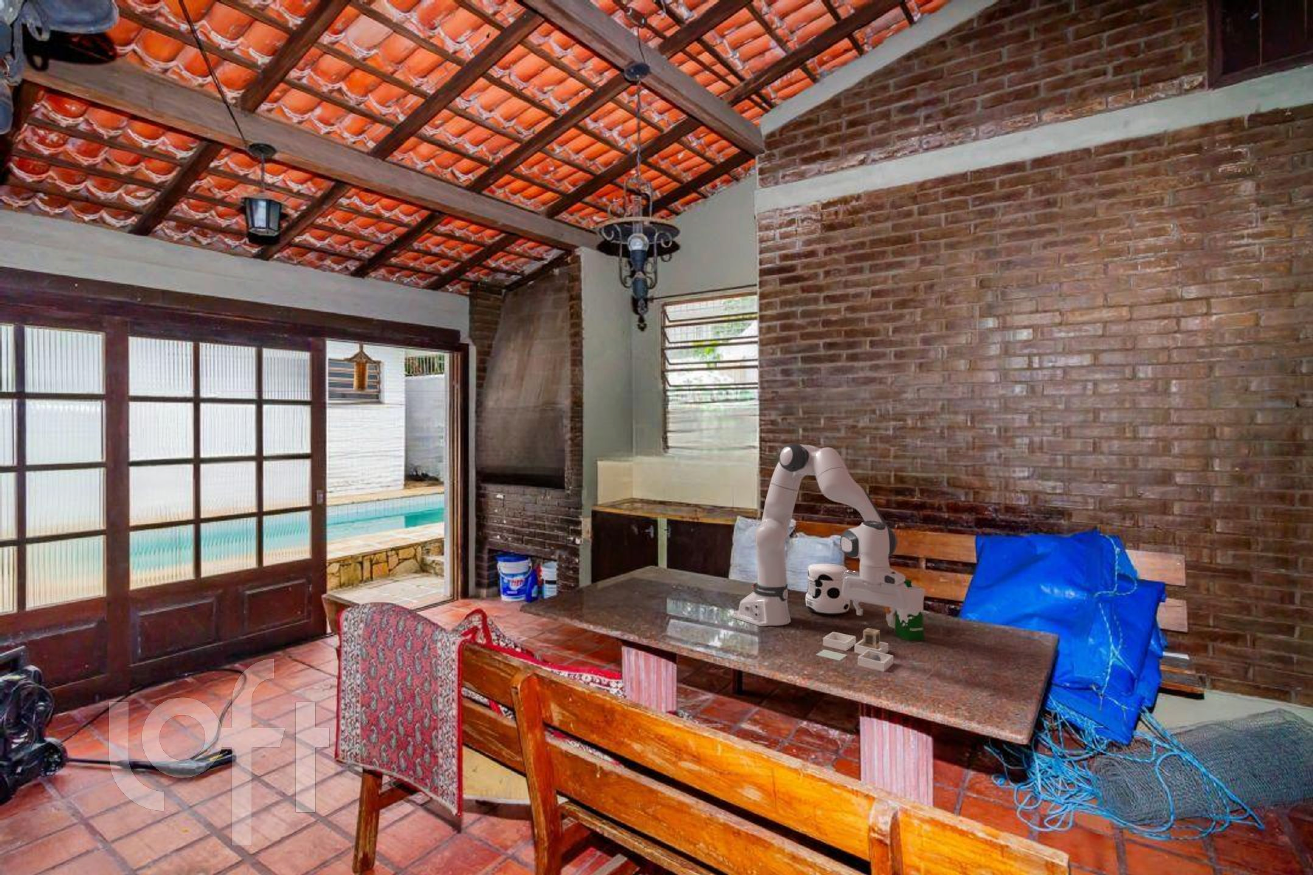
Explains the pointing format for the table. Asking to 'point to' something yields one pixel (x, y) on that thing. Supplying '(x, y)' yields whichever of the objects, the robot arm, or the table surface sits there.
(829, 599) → the milk container
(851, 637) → the white open square tray
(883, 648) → the white square cubby
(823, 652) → the pad
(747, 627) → the table surface
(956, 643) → the table surface
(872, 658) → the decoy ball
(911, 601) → the milk carton
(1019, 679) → the table surface
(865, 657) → the white square open box
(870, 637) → the tan tall block
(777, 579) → the robot arm
